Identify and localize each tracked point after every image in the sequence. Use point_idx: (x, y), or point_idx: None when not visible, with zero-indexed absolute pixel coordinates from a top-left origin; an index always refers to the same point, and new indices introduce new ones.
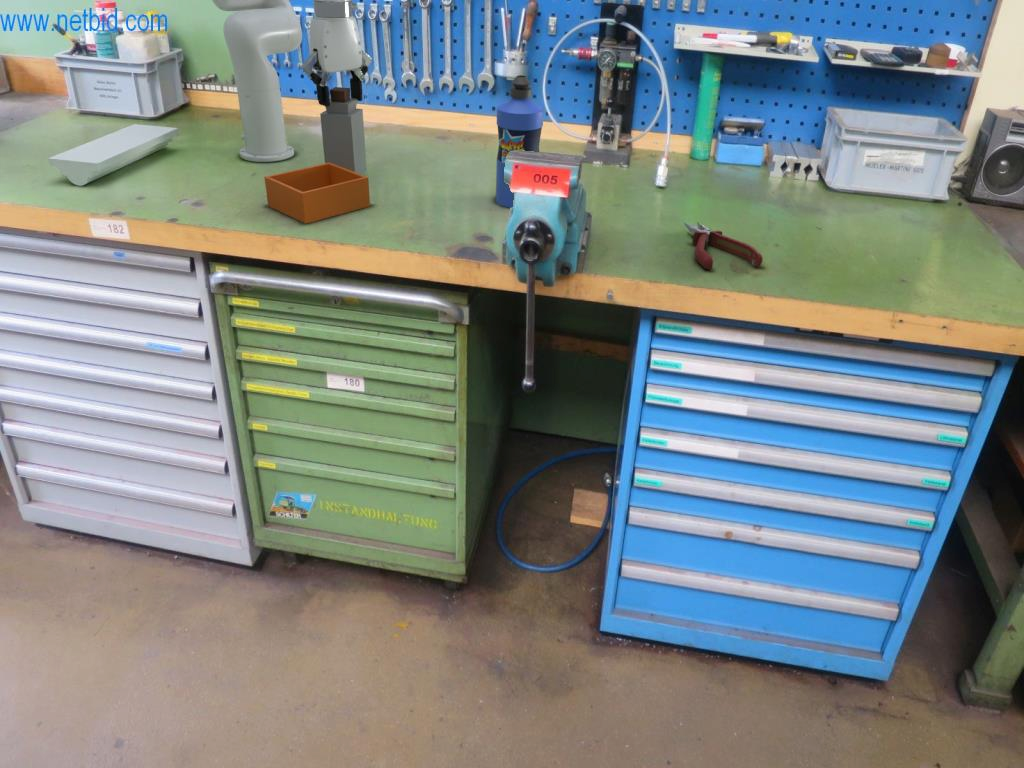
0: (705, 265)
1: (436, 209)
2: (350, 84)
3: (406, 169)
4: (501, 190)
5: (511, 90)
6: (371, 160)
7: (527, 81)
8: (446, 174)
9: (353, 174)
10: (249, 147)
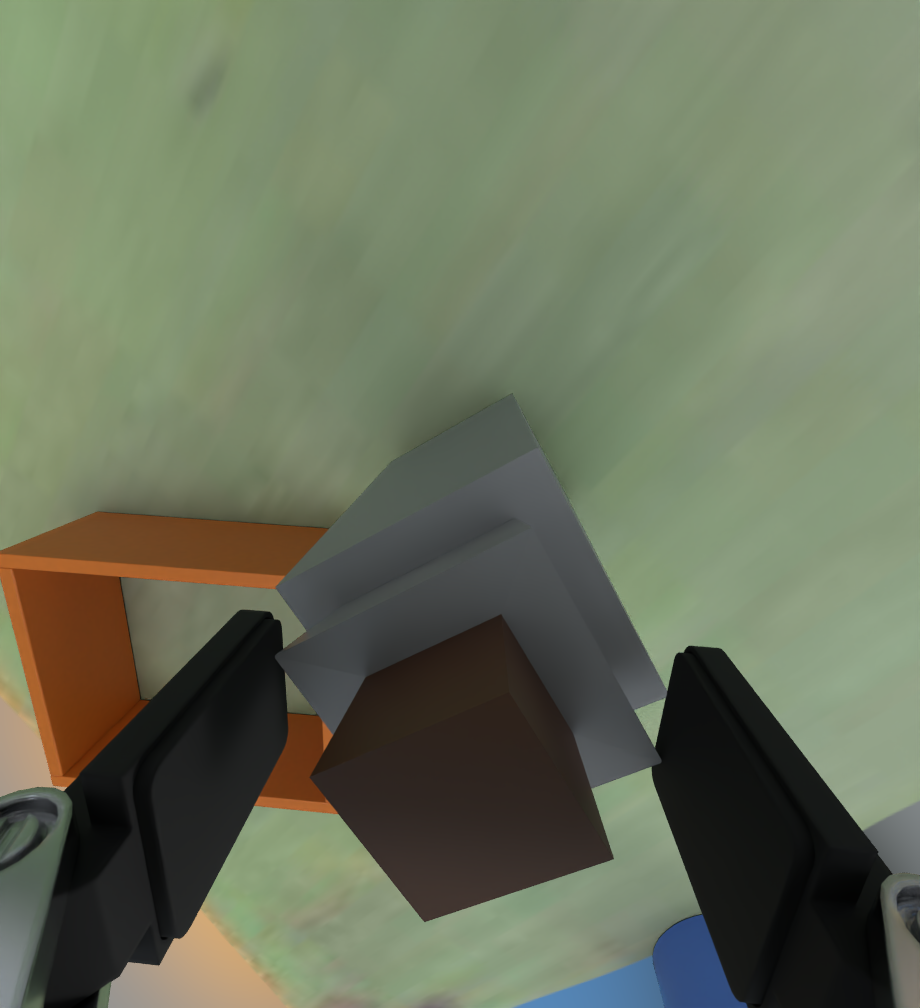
0: None
1: None
2: (758, 780)
3: (775, 534)
4: (669, 1003)
5: None
6: (792, 309)
7: None
8: (819, 683)
9: (324, 747)
10: None
